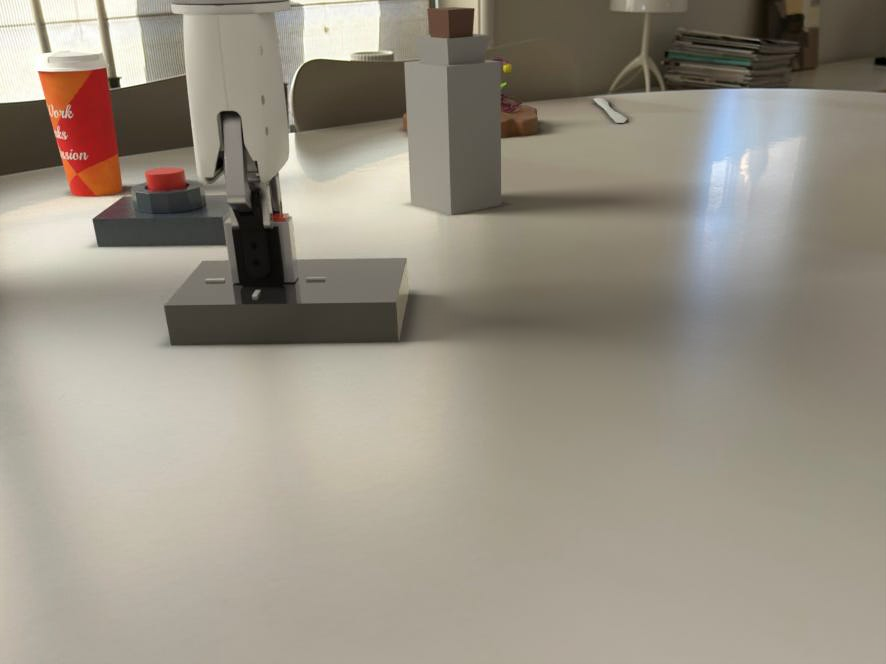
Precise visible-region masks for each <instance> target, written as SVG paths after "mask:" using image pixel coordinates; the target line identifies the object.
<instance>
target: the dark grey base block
mask: <svg viewBox="0 0 886 664" xmlns="http://www.w3.org/2000/svg"><path fill="white" fill-rule="evenodd" d="M297 267H298V277H297V279H296V281H295V282H293V283H283V284H282V285H281V286H269V287H243V286H241V285H240V283H232V279H231V272H230V265H229V260H202V261H201V262H200V263H199V264H198V266H197V267H196V268H195V269H194V270H192V271H193V272H191V274H190V275H189V276H188V277H187V278H186V280H184V282H183V283H182V284H181V285H180V286H179V287H178V288H177V290H176V291H175V292H174V293H173V294H172V295H171V297H170V298H169V299H168V300H167V302H166V303H164V305H163V309H164V313H165V314H164V315H165V321H166V326H167V332H168V337H169V344H170V346H227V345H229V346H231V345H233V346H235V345H239V346H241V345H302V344H305V345H307V344H309V345H310V344H371V343H373V344H376V343H379V344H380V343H381V344H383V343H399V342H400V338H401V334H402V333H401V332H402V328H403V322H404V318H405V314H406V309H407V304H408V300H409V294H410V291H409V274H408V273H409V272H408V258H407V257H377V258H376V257H375V258H373V257H372V258H371V257H369V258H366V257H365V258H311V259H309V258H305V259H303V258H302V259H301V258H300V259H297Z"/></svg>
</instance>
